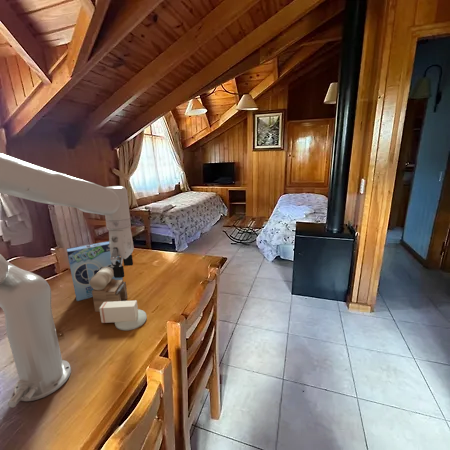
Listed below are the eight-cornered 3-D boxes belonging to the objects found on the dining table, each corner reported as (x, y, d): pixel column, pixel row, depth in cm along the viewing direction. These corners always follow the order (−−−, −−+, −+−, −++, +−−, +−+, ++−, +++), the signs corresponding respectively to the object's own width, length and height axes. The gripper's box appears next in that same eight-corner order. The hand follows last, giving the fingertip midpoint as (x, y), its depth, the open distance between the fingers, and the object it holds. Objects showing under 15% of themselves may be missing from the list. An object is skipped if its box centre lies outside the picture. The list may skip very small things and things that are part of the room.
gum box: (121, 284, 121) (116, 239, 115) (124, 288, 117) (118, 242, 111) (75, 296, 111) (66, 247, 105) (76, 302, 107) (66, 251, 101)
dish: (142, 329, 89) (142, 326, 89) (110, 331, 88) (110, 328, 88) (149, 311, 100) (149, 308, 99) (121, 312, 99) (120, 309, 99)
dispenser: (119, 310, 100) (115, 276, 97) (93, 311, 100) (88, 277, 96) (127, 297, 110) (123, 265, 106) (104, 298, 109) (99, 266, 106)
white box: (135, 321, 92) (133, 306, 90) (101, 322, 91) (99, 308, 89) (138, 314, 96) (136, 300, 94) (105, 316, 95) (103, 301, 93)
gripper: (121, 230, 76) (127, 282, 80) (137, 217, 93) (141, 261, 97) (95, 231, 76) (103, 283, 80) (116, 218, 92) (121, 261, 97)
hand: (124, 270), depth 89 cm, fingers open, 9 cm apart
